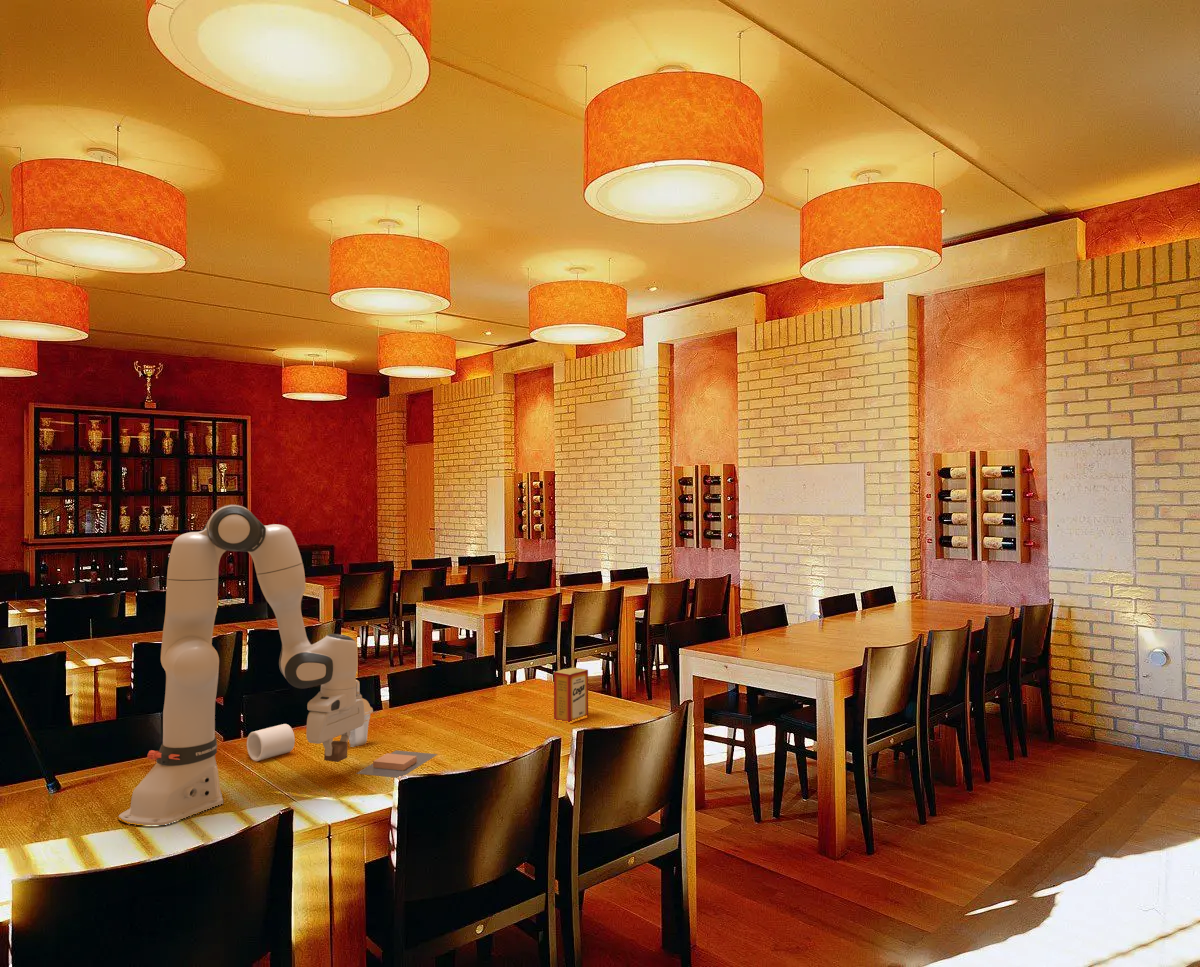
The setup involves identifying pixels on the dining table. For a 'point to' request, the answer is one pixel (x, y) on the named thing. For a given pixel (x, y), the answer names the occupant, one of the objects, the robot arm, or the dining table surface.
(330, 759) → the walnut cube
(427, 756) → the slate board
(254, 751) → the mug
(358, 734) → the cup with straw
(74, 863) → the dining table surface
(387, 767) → the tile
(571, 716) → the baking soda box
